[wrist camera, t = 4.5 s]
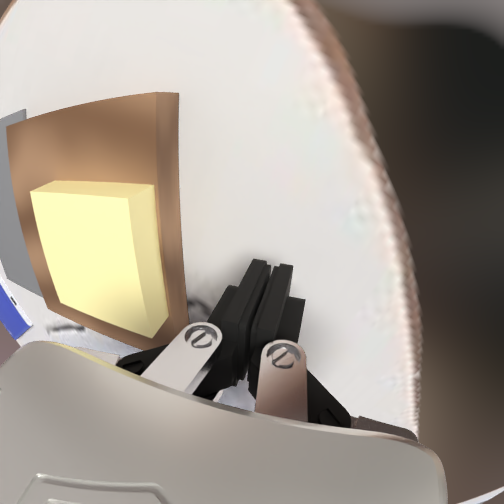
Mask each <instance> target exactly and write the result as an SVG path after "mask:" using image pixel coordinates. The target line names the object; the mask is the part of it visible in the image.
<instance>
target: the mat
mask: <svg viewBox="0 0 504 504" xmlns="http://www.w3.org/2000/svg"><path fill="white" fill-rule="evenodd" d="M23 120H26V109H23V110H21V111H18V112H16V113H13V114H11V115H8V116H6V117H4V118H2V119H0V259H1V262H2V265H3V268H4V271H5V273H6V276H7V279H9V280H11V281H12V282H14V283H16V284H18V285H20V286H22V287H23V288H25V289H27V290H29V291H31V292H33V293H35V294H37V295H39V296H41V297H43V295H42V292H41V290H40V287H39V284H38V282H37V279H36V276H35V273H34V270H33V267H32V264H31V261H30V258H29V254H28V251H27V247H26V244H25V240H24V237H23V233H22V229H21V225H20V221H19V216H18V212H17V207H16V202H15V197H14V192H13V186H12V180H11V173H10V166H9V157H8V147H7V135H6V126H9V125H12V124H14V123H17V122H20V121H23Z"/></svg>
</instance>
